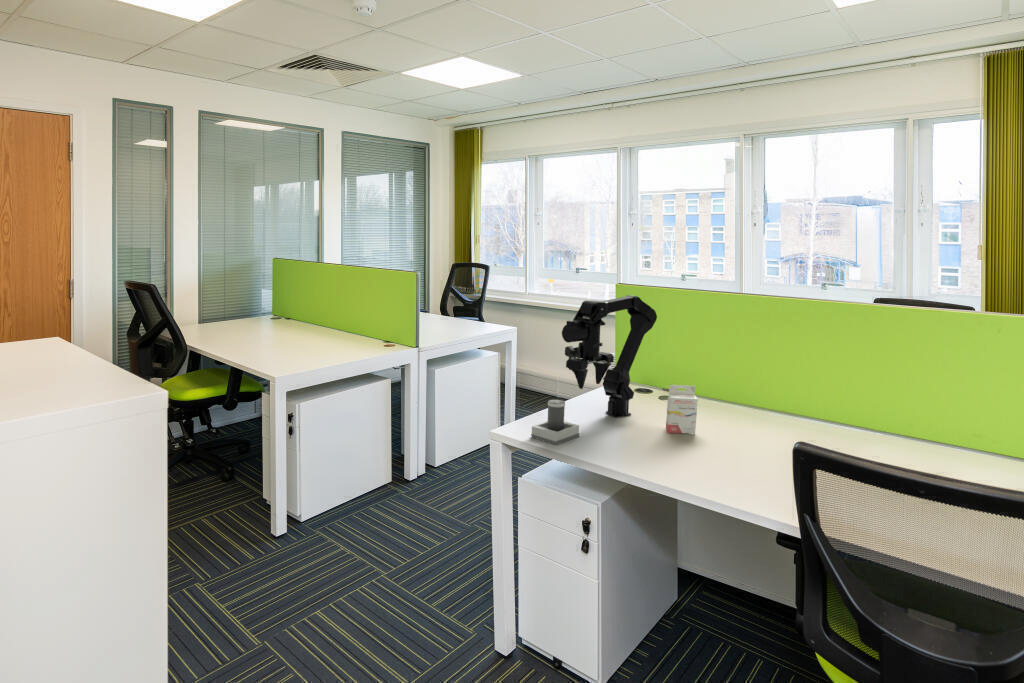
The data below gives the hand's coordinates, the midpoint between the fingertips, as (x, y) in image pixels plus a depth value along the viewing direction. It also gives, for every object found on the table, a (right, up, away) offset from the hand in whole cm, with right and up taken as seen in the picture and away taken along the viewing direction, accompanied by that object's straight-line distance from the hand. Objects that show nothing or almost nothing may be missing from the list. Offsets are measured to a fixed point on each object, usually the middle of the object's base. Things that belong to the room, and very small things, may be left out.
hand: (589, 386), depth 203 cm
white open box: (-12, -15, -14) cm, 23 cm away
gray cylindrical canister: (-12, -13, -14) cm, 23 cm away
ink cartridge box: (+28, -14, -8) cm, 32 cm away
